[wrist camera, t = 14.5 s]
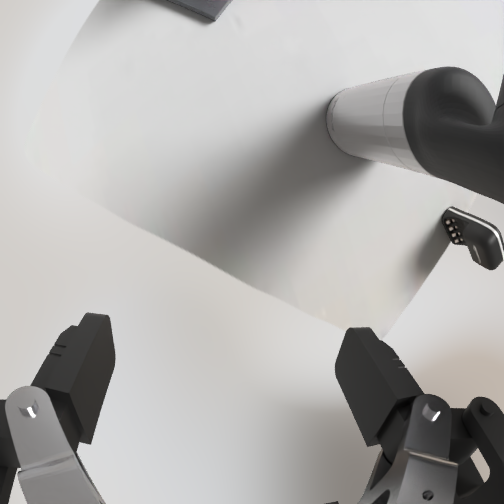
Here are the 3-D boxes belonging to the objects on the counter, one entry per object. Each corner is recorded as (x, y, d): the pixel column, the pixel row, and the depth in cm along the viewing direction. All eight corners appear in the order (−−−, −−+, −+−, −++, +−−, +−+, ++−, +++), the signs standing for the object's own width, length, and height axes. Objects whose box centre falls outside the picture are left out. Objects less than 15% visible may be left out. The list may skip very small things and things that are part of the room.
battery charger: (435, 218, 42) (484, 244, 31) (450, 203, 41) (500, 226, 30) (450, 249, 44) (494, 278, 33) (463, 234, 43) (509, 260, 33)
